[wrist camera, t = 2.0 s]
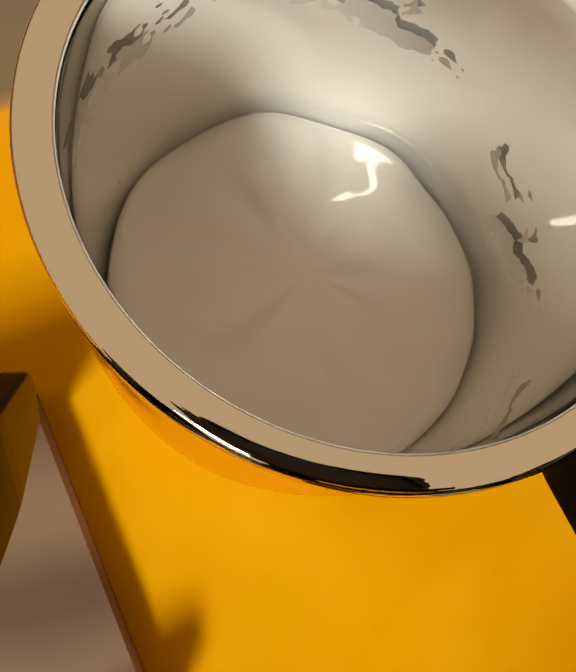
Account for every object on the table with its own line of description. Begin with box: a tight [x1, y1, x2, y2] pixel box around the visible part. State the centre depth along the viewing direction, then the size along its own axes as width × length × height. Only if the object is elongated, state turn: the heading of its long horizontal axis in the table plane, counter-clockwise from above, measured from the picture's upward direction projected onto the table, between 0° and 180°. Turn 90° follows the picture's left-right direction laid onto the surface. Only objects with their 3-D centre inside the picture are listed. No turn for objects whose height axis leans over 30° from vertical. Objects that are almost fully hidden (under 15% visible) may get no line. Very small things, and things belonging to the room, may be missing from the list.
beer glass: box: [9, 0, 576, 499], centre depth 12 cm, size 7×7×15 cm
